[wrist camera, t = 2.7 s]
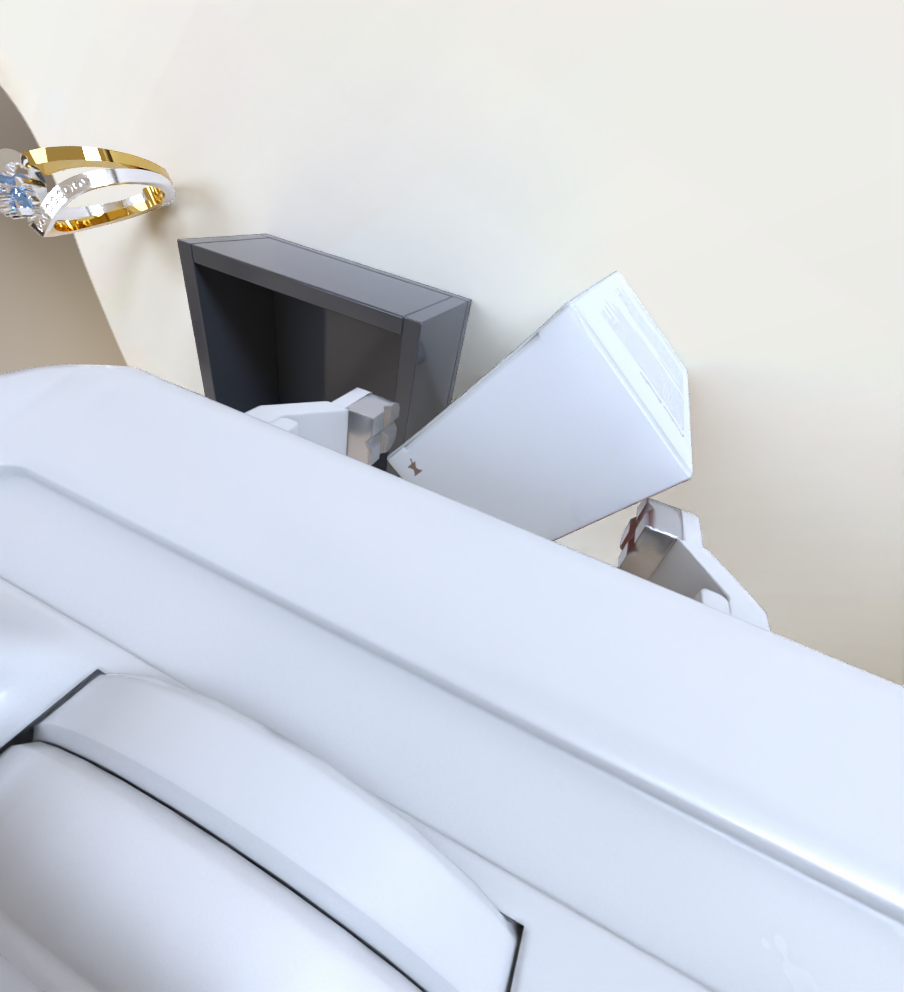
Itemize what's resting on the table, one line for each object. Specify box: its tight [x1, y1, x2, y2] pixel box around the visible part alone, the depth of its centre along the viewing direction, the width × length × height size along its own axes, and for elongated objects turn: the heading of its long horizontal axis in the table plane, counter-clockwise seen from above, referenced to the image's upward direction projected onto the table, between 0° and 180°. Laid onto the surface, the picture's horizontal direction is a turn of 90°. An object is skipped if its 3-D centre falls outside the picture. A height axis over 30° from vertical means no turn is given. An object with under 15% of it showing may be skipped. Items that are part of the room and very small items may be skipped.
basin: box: [177, 234, 471, 478], centre depth 24 cm, size 13×13×6 cm
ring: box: [0, 146, 176, 237], centre depth 22 cm, size 7×3×8 cm, turn 103°
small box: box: [387, 271, 693, 541], centre depth 17 cm, size 8×6×10 cm
